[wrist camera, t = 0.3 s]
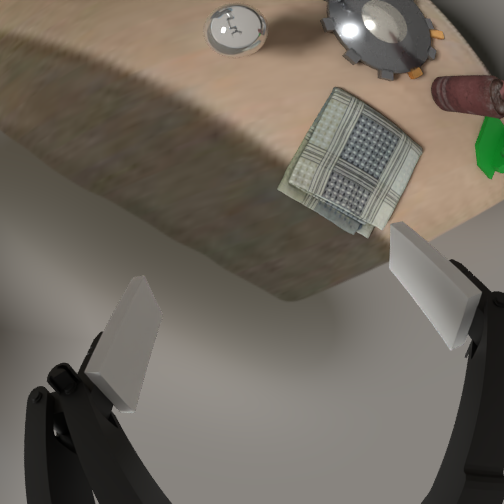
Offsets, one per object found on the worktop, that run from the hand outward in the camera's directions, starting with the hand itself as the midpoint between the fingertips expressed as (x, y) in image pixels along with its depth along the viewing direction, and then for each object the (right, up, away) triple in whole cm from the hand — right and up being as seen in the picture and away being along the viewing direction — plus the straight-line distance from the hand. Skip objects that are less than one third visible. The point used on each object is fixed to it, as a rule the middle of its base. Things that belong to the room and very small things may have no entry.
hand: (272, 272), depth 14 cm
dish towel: (+14, +14, +25) cm, 32 cm away
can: (+31, +27, +18) cm, 45 cm away
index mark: (+29, +37, +13) cm, 49 cm away
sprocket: (+18, +34, +12) cm, 41 cm away
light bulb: (-3, +29, +16) cm, 33 cm away
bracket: (+45, +22, +22) cm, 55 cm away
